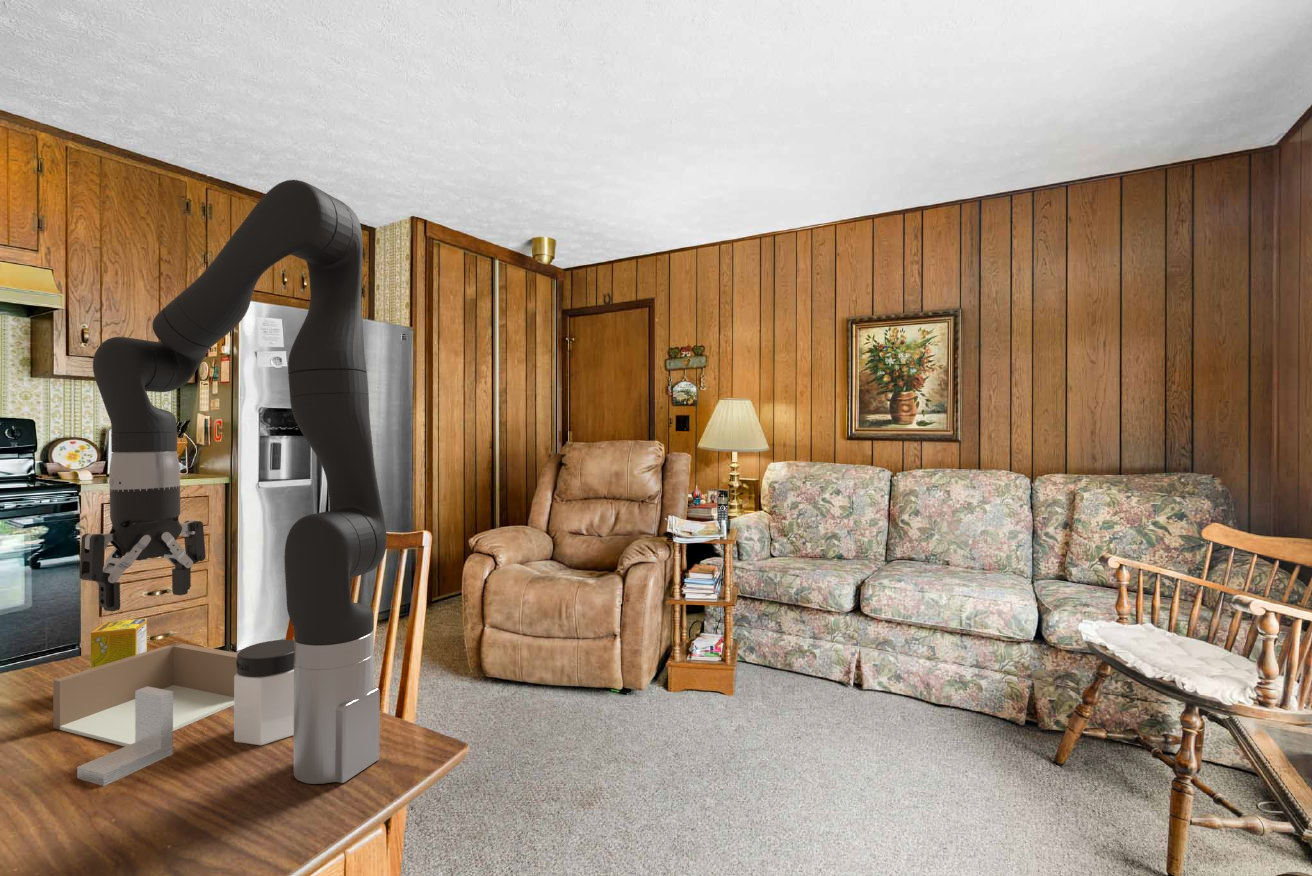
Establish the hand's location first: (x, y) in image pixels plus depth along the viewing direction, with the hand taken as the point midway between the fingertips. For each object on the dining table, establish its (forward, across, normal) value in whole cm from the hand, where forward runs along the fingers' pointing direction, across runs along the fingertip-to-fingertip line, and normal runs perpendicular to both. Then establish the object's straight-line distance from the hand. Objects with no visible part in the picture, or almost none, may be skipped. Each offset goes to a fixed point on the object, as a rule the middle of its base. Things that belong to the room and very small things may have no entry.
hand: (147, 602), depth 86 cm
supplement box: (+19, +10, +24) cm, 32 cm away
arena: (+20, +7, +10) cm, 23 cm away
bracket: (+20, -5, -3) cm, 21 cm away
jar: (+20, +8, -12) cm, 25 cm away
